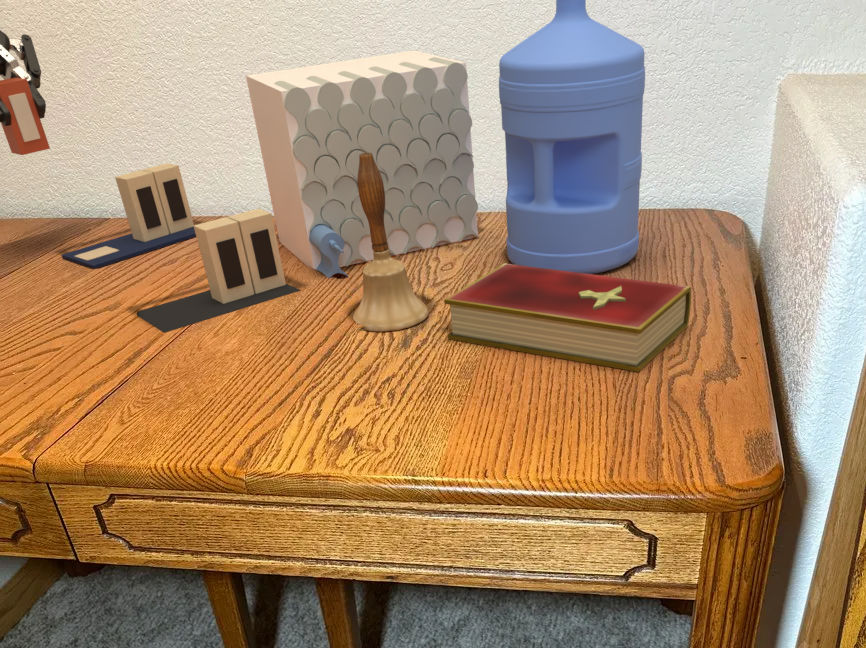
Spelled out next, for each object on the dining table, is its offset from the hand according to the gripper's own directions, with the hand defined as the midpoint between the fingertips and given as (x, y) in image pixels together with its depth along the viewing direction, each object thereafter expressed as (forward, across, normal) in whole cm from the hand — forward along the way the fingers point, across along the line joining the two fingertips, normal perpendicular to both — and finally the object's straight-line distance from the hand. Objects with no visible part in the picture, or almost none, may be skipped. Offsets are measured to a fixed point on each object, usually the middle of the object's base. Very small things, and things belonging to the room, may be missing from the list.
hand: (25, 116), depth 117 cm
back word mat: (+17, +6, +7) cm, 19 cm away
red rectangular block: (+2, 0, +4) cm, 5 cm away
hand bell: (+53, +7, -30) cm, 62 cm away
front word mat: (+39, -2, -16) cm, 42 cm away
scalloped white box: (+40, +24, -17) cm, 49 cm away
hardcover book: (+67, +14, -43) cm, 81 cm away
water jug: (+57, +32, -33) cm, 73 cm away
